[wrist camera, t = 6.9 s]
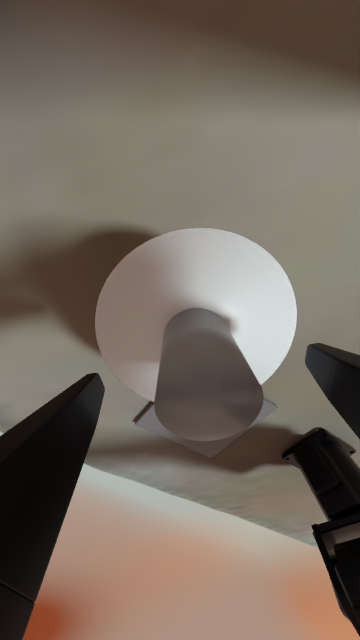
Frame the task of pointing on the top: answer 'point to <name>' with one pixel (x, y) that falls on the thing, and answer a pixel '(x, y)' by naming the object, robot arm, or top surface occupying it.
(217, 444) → the mat
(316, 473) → the robot arm
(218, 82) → the top surface
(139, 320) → the lid
